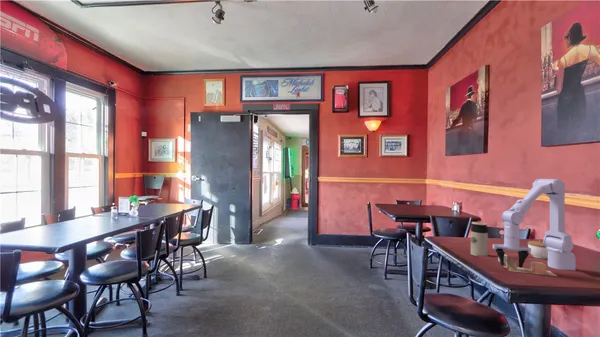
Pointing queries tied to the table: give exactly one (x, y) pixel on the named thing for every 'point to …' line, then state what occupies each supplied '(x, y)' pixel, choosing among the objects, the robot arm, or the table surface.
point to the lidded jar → (538, 249)
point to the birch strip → (512, 266)
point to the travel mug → (479, 239)
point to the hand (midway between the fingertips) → (511, 266)
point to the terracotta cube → (538, 267)
